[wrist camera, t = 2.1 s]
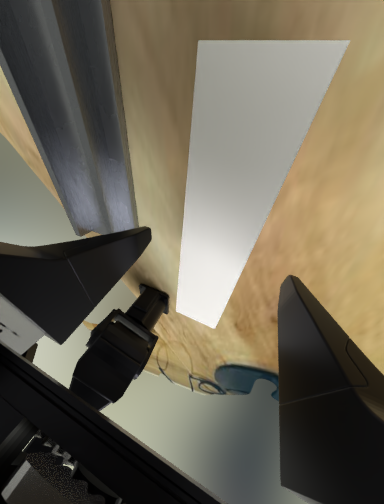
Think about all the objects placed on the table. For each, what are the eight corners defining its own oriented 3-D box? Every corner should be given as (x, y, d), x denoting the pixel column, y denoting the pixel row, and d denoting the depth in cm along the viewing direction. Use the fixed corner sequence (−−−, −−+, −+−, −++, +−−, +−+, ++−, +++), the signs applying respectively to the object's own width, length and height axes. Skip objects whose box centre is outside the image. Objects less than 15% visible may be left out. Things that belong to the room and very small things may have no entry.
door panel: (231, 272, 20) (215, 329, 14) (202, 261, 21) (175, 311, 15) (300, 101, 10) (352, 40, 4) (237, 95, 11) (196, 40, 5)
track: (140, 245, 23) (128, 255, 21) (82, 223, 26) (66, 231, 24) (96, -105, 8) (37, -187, 6) (-32, -69, 11) (-103, -118, 9)
